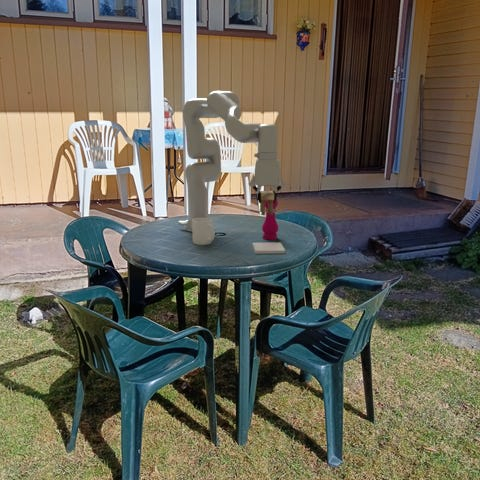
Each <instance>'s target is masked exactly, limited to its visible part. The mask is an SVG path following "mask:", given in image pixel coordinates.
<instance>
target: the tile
mask: <svg viewBox="0 0 480 480" xmlns="http://www.w3.org/2000/svg"><path fill="white" fill-rule="evenodd" d="M252 248H253V251H254V253H255V255H256V254H258V255H261V254H268V255H270V254H271V255H272V254H286V249H285V248H284V246H283V244H282V242H252Z"/></svg>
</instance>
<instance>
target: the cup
mask: <svg viewBox="0 0 480 480" xmlns="http://www.w3.org/2000/svg"><path fill="white" fill-rule="evenodd" d="M192 230H193V232H192V243H193V244H194V245H197V246H206V245H211V244H212V242H213V241H214V239H215V235H216V234H215V228H214V225H213V219H212V218H210V217H208V218H194V219H193V220H192Z"/></svg>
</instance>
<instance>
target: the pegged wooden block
mask: <svg viewBox="0 0 480 480" xmlns="http://www.w3.org/2000/svg"><path fill="white" fill-rule="evenodd" d="M260 191H261V203H259V204H260V205H259V212H260V213H261V216H264V215H265V216H266V212H265V208H266V207H265V200H268V212H269V215H273V200H274V193H273V191H272V190H260Z"/></svg>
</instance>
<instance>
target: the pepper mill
mask: <svg viewBox="0 0 480 480" xmlns="http://www.w3.org/2000/svg"><path fill="white" fill-rule="evenodd" d="M278 205H279V204H278V199H277V200H275V203H273V215H269V212H268V200H265V220H264V221H263V223H262V226H261V231H262V232H263V234H262V238H263V240H267V239H268V241H271V240H272V241H273V239H274V240H277V239H278V234H277V233H278V231H279V224H278V222H277V220H276V213H277V207H278Z"/></svg>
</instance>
